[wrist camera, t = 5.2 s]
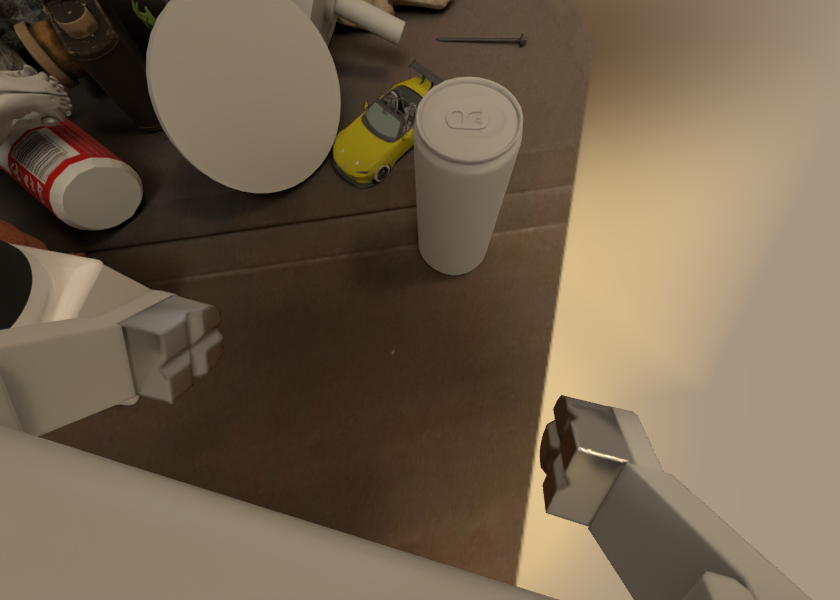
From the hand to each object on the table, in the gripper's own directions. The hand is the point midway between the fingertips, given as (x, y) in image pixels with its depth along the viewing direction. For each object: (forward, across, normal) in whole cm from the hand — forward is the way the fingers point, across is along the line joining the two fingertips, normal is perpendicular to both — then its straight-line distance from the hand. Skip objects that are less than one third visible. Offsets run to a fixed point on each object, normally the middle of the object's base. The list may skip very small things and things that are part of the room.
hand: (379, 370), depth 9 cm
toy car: (+25, +7, -3) cm, 26 cm away
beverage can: (+20, 0, +3) cm, 20 cm away
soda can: (+15, +23, +4) cm, 28 cm away
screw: (+34, +2, -11) cm, 35 cm away
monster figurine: (+18, +14, -4) cm, 23 cm away
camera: (+26, +32, -4) cm, 42 cm away
